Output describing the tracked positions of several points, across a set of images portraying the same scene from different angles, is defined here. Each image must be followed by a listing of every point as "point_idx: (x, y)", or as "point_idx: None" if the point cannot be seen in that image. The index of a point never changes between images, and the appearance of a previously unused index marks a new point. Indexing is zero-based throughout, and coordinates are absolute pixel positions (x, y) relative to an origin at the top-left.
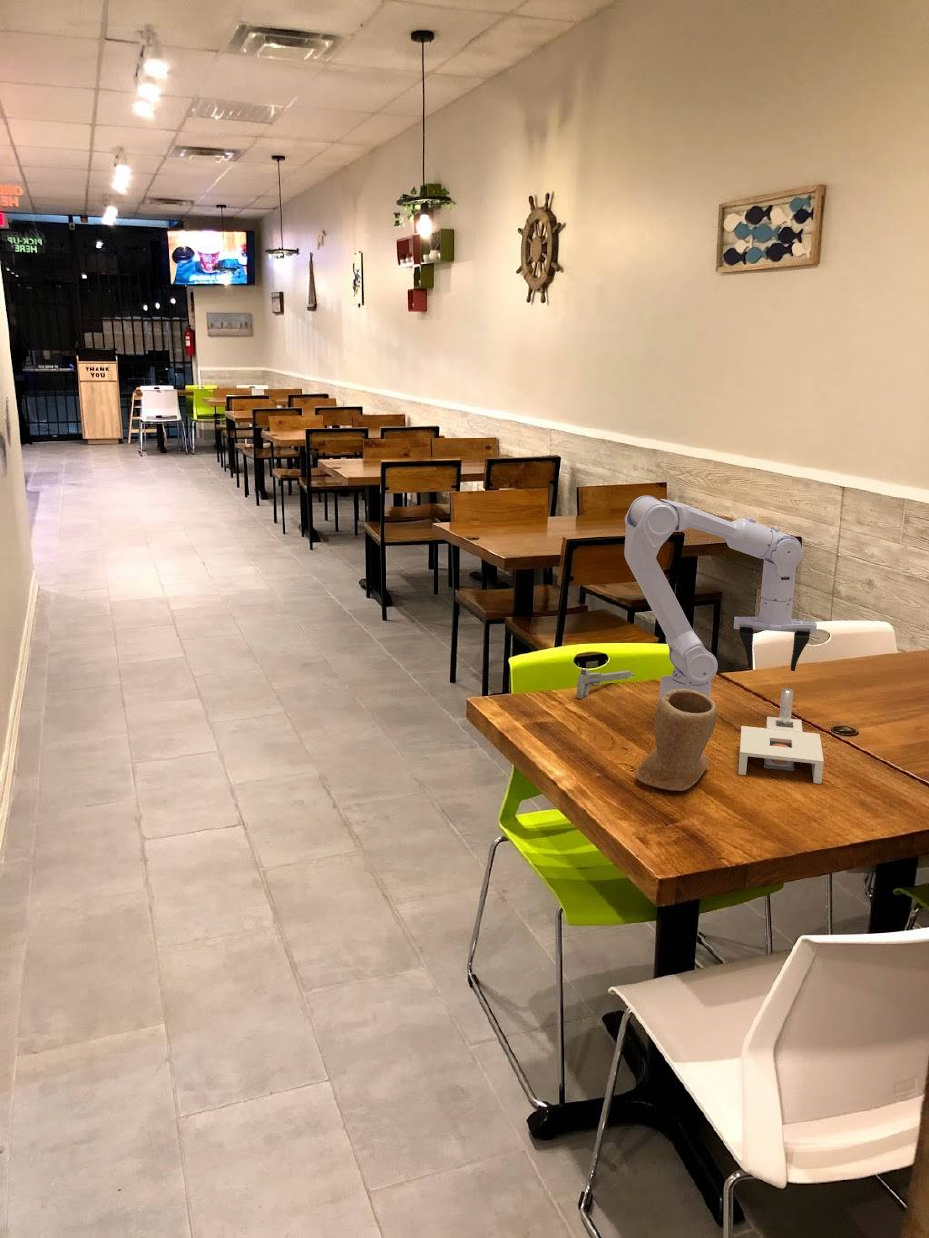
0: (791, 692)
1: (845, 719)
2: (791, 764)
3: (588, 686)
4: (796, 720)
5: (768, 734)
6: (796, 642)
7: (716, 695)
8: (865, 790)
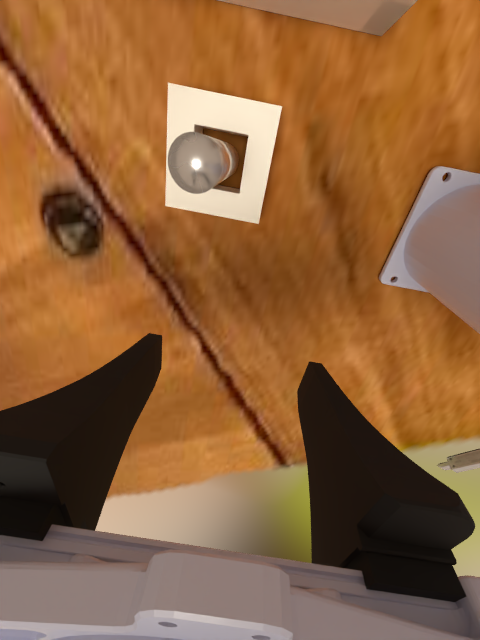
0: (178, 136)
1: (76, 294)
2: None
3: None
4: (179, 199)
5: None
6: (68, 423)
7: None
8: None
